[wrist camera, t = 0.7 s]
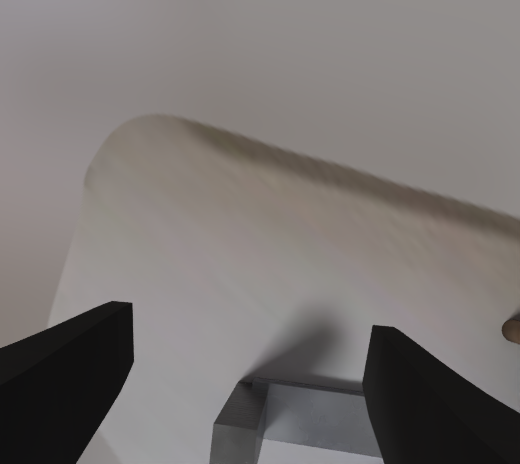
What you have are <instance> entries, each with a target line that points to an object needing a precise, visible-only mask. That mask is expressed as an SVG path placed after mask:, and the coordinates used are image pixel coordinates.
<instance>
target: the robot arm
mask: <svg viewBox="0 0 520 464" xmlns="http://www.w3.org/2000/svg"><path fill="white" fill-rule="evenodd" d="M133 363H134V345H133V308H132V303H128V302H117V301H111V302H108V303H105V304H103V305H100V306H98V307H96V308H93V309H91V310H89V311H87V312H84V313H82V314H80V315H78V316H76V317H73V318H71V319H69V320H67V321H65V322H62V323H60V324H58V325H56V326H54V327H51V328H49V329H47V330H44V331H42V332H40V333H37V334H35V335H32V336H30V337H27V338H25V339H23V340H20V341H18V342H15V343H13V344H10V345H8V346H5V347H2V348H0V464H76V462H77V461H78V459H79V458H80V456H81V455H82V453H83V451H84V450H85V448H86V447H87V445H88V443H89V442H90V440H91V439H92V437H93V435H94V434H95V432H96V431H97V429H98V427H99V426H100V424H101V423H102V421H103V419H104V418H105V416H106V415H107V413H108V411H109V410H110V408H111V406H112V405H113V403H114V402H115V400H116V398H117V397H118V395H119V393H120V392H121V389H122V387H123V385H124V383H125V381H126V379H127V377H128V374H129V372H130V370H131V367H132V365H133ZM362 385H363V391H364V396H365V401H366V406H367V411H368V416H369V419H370V422H371V425H372V428H373V431H374V434H375V437H376V440H377V443H378V446H379V449H380V452H381V455H382V458H383V461H384V464H520V413H518V412H517V411H515V410H513V409H511V408H510V407H508V406H506V405H505V404H503V403H501V402H500V401H498V400H496V399H495V398H493V397H492V396H490V395H488V394H487V393H485V392H484V391H482V390H481V389H479V388H478V387H476V386H475V385H473V384H472V383H470V382H469V381H467V380H466V379H464V378H463V377H462V376H460V375H459V374H457V373H456V372H455V371H453V370H452V369H450V368H449V367H448V366H446V365H445V364H444V363H442V362H441V361H439V360H438V359H437V358H435V357H434V356H433V355H432V354H430V353H429V352H428V351H426V350H425V349H424V348H422V347H421V346H420V345H418V344H417V343H416V342H414V341H413V340H412V339H410V338H409V337H408V336H406V335H405V334H404V333H402V332H401V331H399V330H398V329H396V328H395V327H389V326H378V325H373V327H372V332H371V338H370V343H369V349H368V354H367V360H366V365H365V371H364V377H363V382H362Z"/></svg>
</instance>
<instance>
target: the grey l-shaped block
mask: <svg viewBox="0 0 520 464" xmlns="http://www.w3.org/2000/svg"><path fill="white" fill-rule="evenodd" d="M263 439H268V440H274V441H280V442H287V443H293V444H299V445H305V446H312V447H318V448H324V449H330V450H337V451H343V452H349V453H355V454H361V455H368V456H374V457H380V458H382V455H381V452H380V449H379V446H378V443H377V440H376V437H375V434H374V431H373V428H372V425H371V422H370V419H369V416H368V411H367V406H366V401H365V396H364V392H357V391H350V390H343V389H336V388H329V387H322V386H314V385H307V384H300V383H293V382H286V381H278V380H271V379H264V378H257V377H255V378H254V380H253V384H252V383H245V382H238V383H237V385H236V387H235V388H234V390H233V392H232V393H231V395H230V397H229V398H228V400H227V402H226V403H225V405H224V407H223V409H222V410H221V412H220V414H219V415H218V417H217V419H216V420H215V422H214V425H213V435H212V444H211V453H210V463H209V464H257V462H258V458H259V454H260V450H261V446H262V441H263Z"/></svg>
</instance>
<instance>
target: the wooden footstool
mask: <svg viewBox="0 0 520 464" xmlns="http://www.w3.org/2000/svg"><path fill="white" fill-rule="evenodd" d="M502 334H503V336H504V337H505V338H506V339H507V340H508V341H511V342H514V343H517V344H520V321H517V320H509V321H507V322H505V323H504V324H503V326H502Z"/></svg>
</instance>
